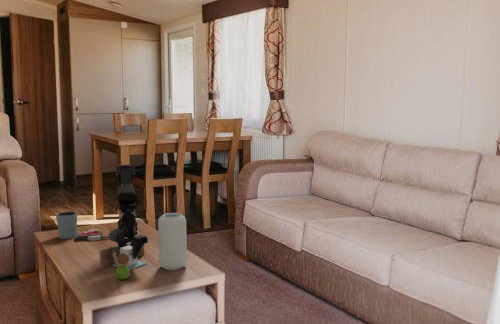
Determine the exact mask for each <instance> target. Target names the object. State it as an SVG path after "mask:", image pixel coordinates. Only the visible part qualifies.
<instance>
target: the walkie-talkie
mask: <svg viewBox="0 0 500 324" xmlns="http://www.w3.org/2000/svg"><path fill="white" fill-rule="evenodd" d="M103 239H110V237H109V235H105V236H104V235H103V232H102V231H101V230H99V229H98V228H96V229H89V230H87V231H85V230H83V231H82V232H77V237H75V238H74V240H75V241H78V242H80V241H81V242H82V241H83V240H84V241H89V240H90V241H91V242H93V241H102V240H103Z"/></svg>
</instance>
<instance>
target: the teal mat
mask: <svg viewBox="0 0 500 324" xmlns="http://www.w3.org/2000/svg"><path fill="white" fill-rule="evenodd" d="M146 265H147V262H143V261H141V260H138V264H135V265H132V266H127V267H128V268H129V269H130V271H131V270H134V269H137V268H141V267H144V266H146ZM111 266H112V267H114V268H118V267H120V266H119V265H117V264H116V263H115V264H112V265H111Z"/></svg>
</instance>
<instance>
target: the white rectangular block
mask: <svg viewBox="0 0 500 324" xmlns="http://www.w3.org/2000/svg"><path fill="white" fill-rule="evenodd" d="M122 253H125V254H127V255H128V256H129V261H128V263H129V265H127V266H132V265H135V264H138V261H139V260H138V257H139V256H137V258H136V259H134V257H133V249H132V247H131V246H130V245H129V246H125V247H122V248H120V254H122Z"/></svg>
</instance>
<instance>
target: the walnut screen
mask: <svg viewBox="0 0 500 324" xmlns="http://www.w3.org/2000/svg"><path fill="white" fill-rule="evenodd" d="M130 244H131V242H129V243H127V245H126V246H129V245H130ZM113 249H114V251H113ZM113 252H115V253H116V257H117V258H118V256H119V255H120V248H119V246H118V245H115V246H111V247H108V248H104V249H100V250H99V266H100V268H105V267H108V266H112V264H115V260H114V256H113ZM144 255H145V244H143V246H142V248H141V250H140V252H139V254H138V257H141V256H144Z"/></svg>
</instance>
